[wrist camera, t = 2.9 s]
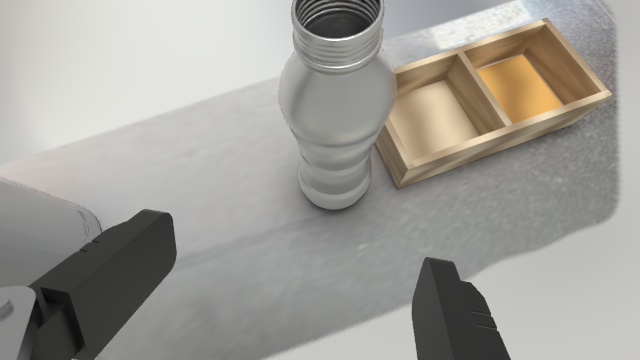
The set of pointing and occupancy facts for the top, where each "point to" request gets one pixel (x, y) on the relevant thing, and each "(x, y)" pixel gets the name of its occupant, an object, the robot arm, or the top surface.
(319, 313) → the top surface
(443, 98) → the tray
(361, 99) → the plastic bottle
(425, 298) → the robot arm
